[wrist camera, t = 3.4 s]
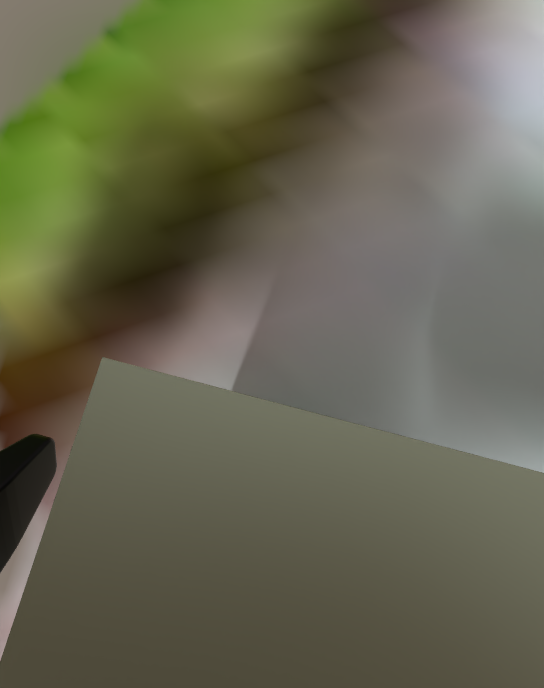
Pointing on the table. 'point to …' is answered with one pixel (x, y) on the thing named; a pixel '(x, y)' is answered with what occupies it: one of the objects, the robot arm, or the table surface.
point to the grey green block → (275, 553)
